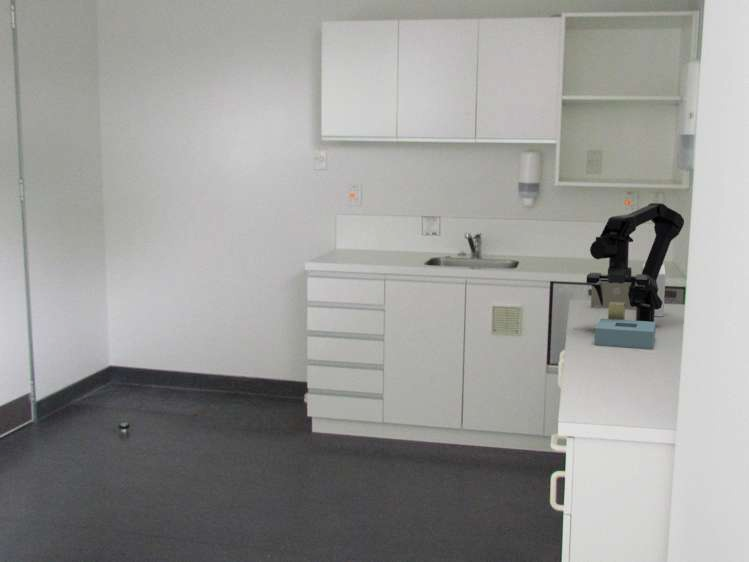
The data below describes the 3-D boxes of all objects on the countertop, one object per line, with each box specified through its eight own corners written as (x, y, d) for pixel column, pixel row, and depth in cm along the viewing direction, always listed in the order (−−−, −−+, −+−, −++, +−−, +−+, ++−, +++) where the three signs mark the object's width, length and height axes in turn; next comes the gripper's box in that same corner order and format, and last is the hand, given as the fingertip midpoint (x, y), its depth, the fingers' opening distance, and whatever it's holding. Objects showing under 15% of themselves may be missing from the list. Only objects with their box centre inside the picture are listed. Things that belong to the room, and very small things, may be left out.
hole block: (600, 334, 243) (601, 318, 243) (655, 338, 237) (655, 321, 237) (594, 344, 229) (595, 328, 228) (652, 349, 223) (653, 331, 222)
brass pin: (609, 329, 251) (610, 301, 250) (624, 330, 249) (625, 302, 248) (607, 332, 247) (608, 303, 246) (622, 333, 245) (624, 304, 244)
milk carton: (663, 317, 272) (666, 262, 269) (642, 316, 273) (644, 262, 271) (660, 313, 279) (662, 260, 276) (639, 312, 280) (641, 260, 278)
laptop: (642, 305, 297) (643, 271, 295) (641, 311, 285) (643, 276, 283) (593, 303, 302) (594, 270, 301) (590, 308, 291) (591, 274, 289)
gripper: (584, 258, 241) (583, 308, 243) (648, 260, 234) (646, 312, 236) (589, 255, 251) (588, 303, 253) (650, 256, 244) (648, 306, 247)
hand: (617, 306), depth 247 cm, fingers open, 9 cm apart
